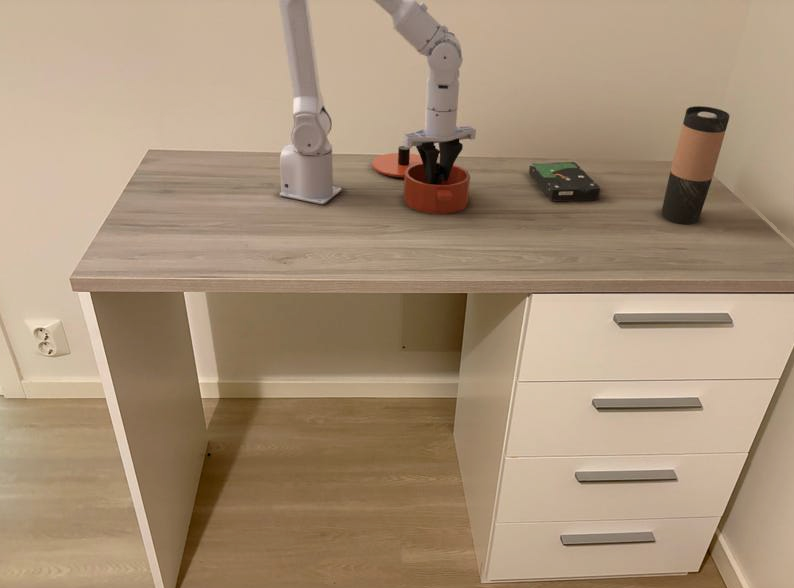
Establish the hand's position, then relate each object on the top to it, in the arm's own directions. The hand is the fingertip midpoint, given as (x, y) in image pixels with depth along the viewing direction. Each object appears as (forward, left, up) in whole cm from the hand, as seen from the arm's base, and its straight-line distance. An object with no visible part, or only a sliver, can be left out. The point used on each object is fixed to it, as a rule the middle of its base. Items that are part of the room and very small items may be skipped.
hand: (437, 180), depth 137 cm
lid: (-12, +13, -4) cm, 18 cm away
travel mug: (+45, +15, -4) cm, 48 cm away
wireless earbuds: (0, 0, -2) cm, 2 cm away
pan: (0, 0, -4) cm, 4 cm away
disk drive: (+21, +19, -4) cm, 29 cm away
